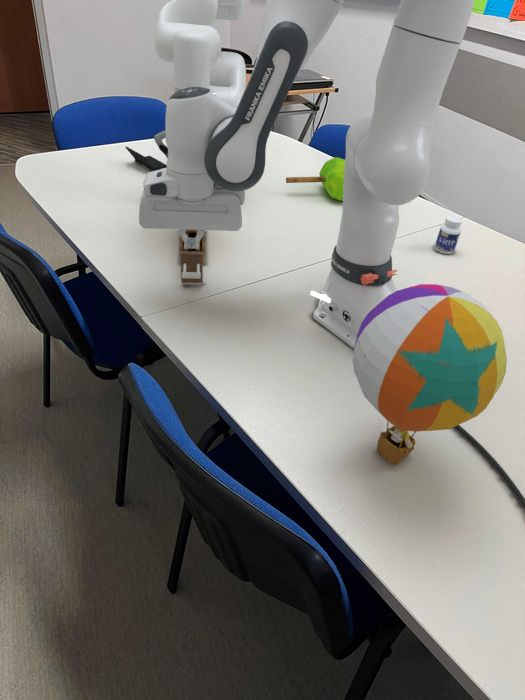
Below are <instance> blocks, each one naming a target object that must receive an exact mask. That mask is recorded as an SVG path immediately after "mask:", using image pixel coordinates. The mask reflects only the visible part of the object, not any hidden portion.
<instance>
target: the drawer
mask: <svg viewBox="0 0 525 700" xmlns="http://www.w3.org/2000/svg"><path fill="white" fill-rule="evenodd" d="M185 234H186V235H187V237H188V238H195V237H196V236H197V233H192V232H186V233H185ZM203 266H204V265H203V252H200V241H199V249H185V248H184V251H181V264H180V279H181V283H182V284H203V277H204V276H203V275H204V274H203V269H204V268H203Z"/></svg>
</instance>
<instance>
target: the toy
mask: <svg viewBox="0 0 525 700" xmlns="http://www.w3.org/2000/svg"><path fill="white" fill-rule="evenodd" d="M507 360H508V358H507V351H506V344H505V340H504V334H503V330H502V329H501V327H500V325H499V323H498V320H497V319H496V318H495V317H494V316H493V314H492V313H491V312H490V311H489V309H488V308H487V307H486V306H485V305H484V304H483V303H482V302H481V301H480V300H478V299H477V298H475V297H474V296H473V295H470V293H467V292H465V291H463V290H460V289H457V288H454V287H453V286H452V287H451V286H447V285H441V284H438V283H437V284H433V283H432V284H430V283H429V284H428V283H426V284H425V283H421V284H416V285H413V286H409V287H405V288H402V289H399V290H398V289H397V291H396V292H394V293H392V294H390V295H388V296H387V297H386V298H385V299H384V300H382V301H381V302H380V303H379V304H378V305H377V306H376V307H374V308H373V309H372V310H371V311H370V312H369V313H368V314H367V316H366V317H365V319H364V320H363V322H362V323H361V326H360V328H359V331H358V334H357V338H356V343H355V347H354V348H353V355H352V366H353V372H354V374H355V377H356V379H357V382H358V384H359V387H360V389H361V390H360V391H361V392H362V394H363V396H364V398H365V399H366V400H367V401H368V403H370V405H371V406H373V408H374V409H375V410H376V411H377V412H378V413H379V414H380V415H381V416H382V417H383V418H384V419H385V420H386V421H387V422H386V431H380V436H379V437H378V440H377V444H376V452H377V454H378V455H379V456H381V458H383V459H385V461H387V462H388V463H389V464H391V465H392V466H393V467H396V466H398V465H399V464H400V463H402V462H403V461H404V460H406V458H408V457H409V456H410V455H411V453H412V452H413V451H414V450H415V445H416V439H415V438H414V436H415V434H416V433H417V432H432V431H433V432H434V431H443V430H451V429H453V428H454V427H455V426H457V425H461V424H464V423H465V422H467V421H470V420H472V419H474V418H476V417H478V416H479V415H480V414H481V413H483V412H484V411H485V410H486V409H487V408H488V406H489V404H490V403H491V401H492V400H493V398H494V397H495V395H496V394H497V392H498V390H499V389H500V387H501V386H502V384H503V382H504V378H505V376H506V373H507V362H508V361H507ZM389 423H390V424H391V425H392V426H391V427H389ZM409 432H413V433H412V435H410V433H409Z"/></svg>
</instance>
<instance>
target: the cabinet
mask: <svg viewBox="0 0 525 700" xmlns="http://www.w3.org/2000/svg"><path fill="white" fill-rule="evenodd" d="M186 232H192V233H197V230H186ZM181 251H184V241H183V240H182V238H181V237H180V236H179V264H180V265H181ZM200 252H203V266H205V265H206V230H204V235H203V237H202V238H201V240H200Z"/></svg>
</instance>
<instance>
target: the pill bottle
mask: <svg viewBox="0 0 525 700" xmlns="http://www.w3.org/2000/svg"><path fill="white" fill-rule="evenodd" d="M462 222H463V219H461V218H460V217H458V216H455V215H448V216H446V218H445V220H444V223H443V224H442V225H440V228H439V231H438V234H437V237H436V240H435V243H434V250H435V251H437V252H439V253H441V254H447V255H449V254H453V253H454V252H455V250H456V247H457V244H458V242H459V239H460V236H461V233H462V229H461V225H462Z"/></svg>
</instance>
